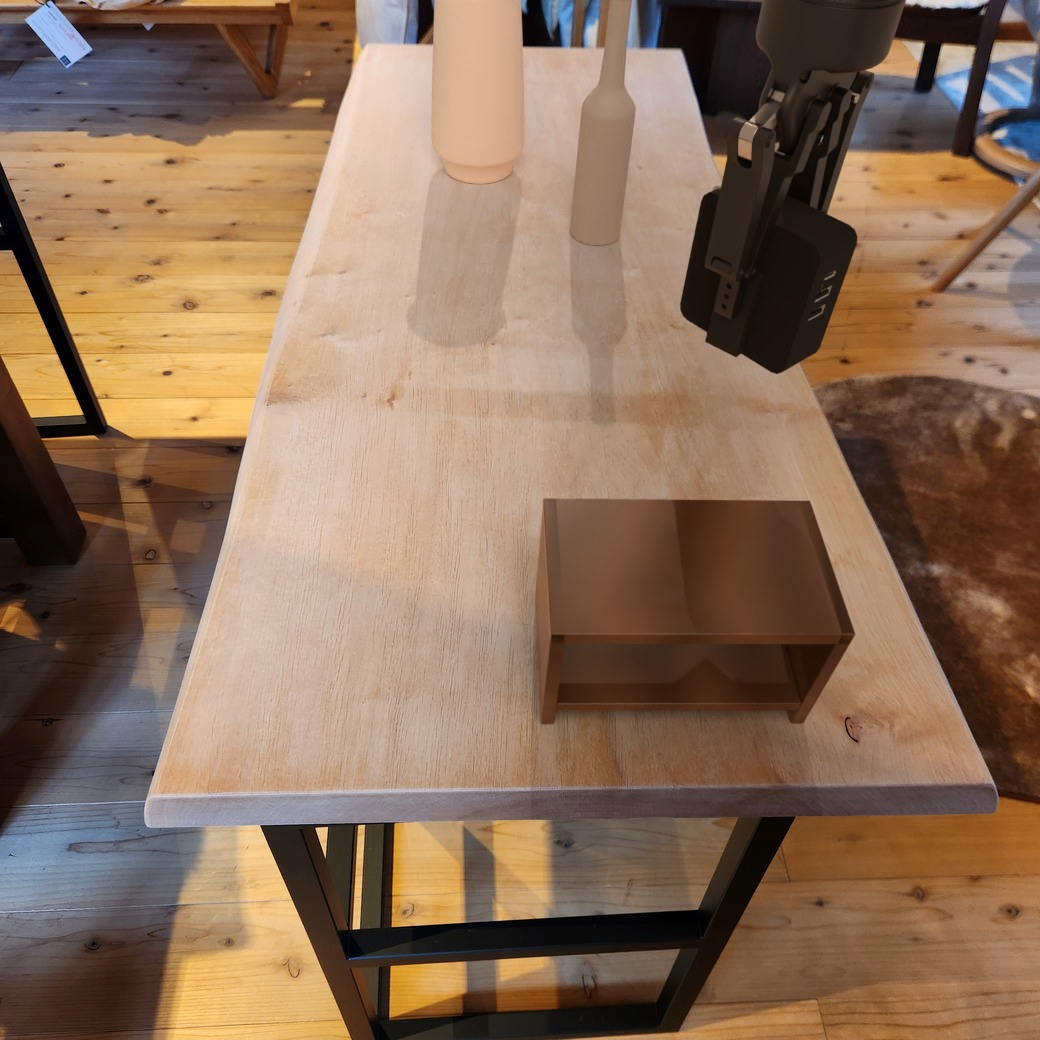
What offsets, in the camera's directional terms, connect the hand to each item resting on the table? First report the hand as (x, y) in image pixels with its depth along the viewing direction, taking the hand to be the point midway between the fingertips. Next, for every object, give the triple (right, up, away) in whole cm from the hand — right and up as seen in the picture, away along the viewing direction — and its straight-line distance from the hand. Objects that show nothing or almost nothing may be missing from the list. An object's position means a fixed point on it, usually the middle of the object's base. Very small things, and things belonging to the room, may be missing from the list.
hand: (743, 331), depth 63 cm
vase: (-23, +36, +59) cm, 73 cm away
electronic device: (0, 0, 0) cm, 1 cm away
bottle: (-7, +24, +48) cm, 54 cm away
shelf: (-5, -25, +5) cm, 26 cm away
